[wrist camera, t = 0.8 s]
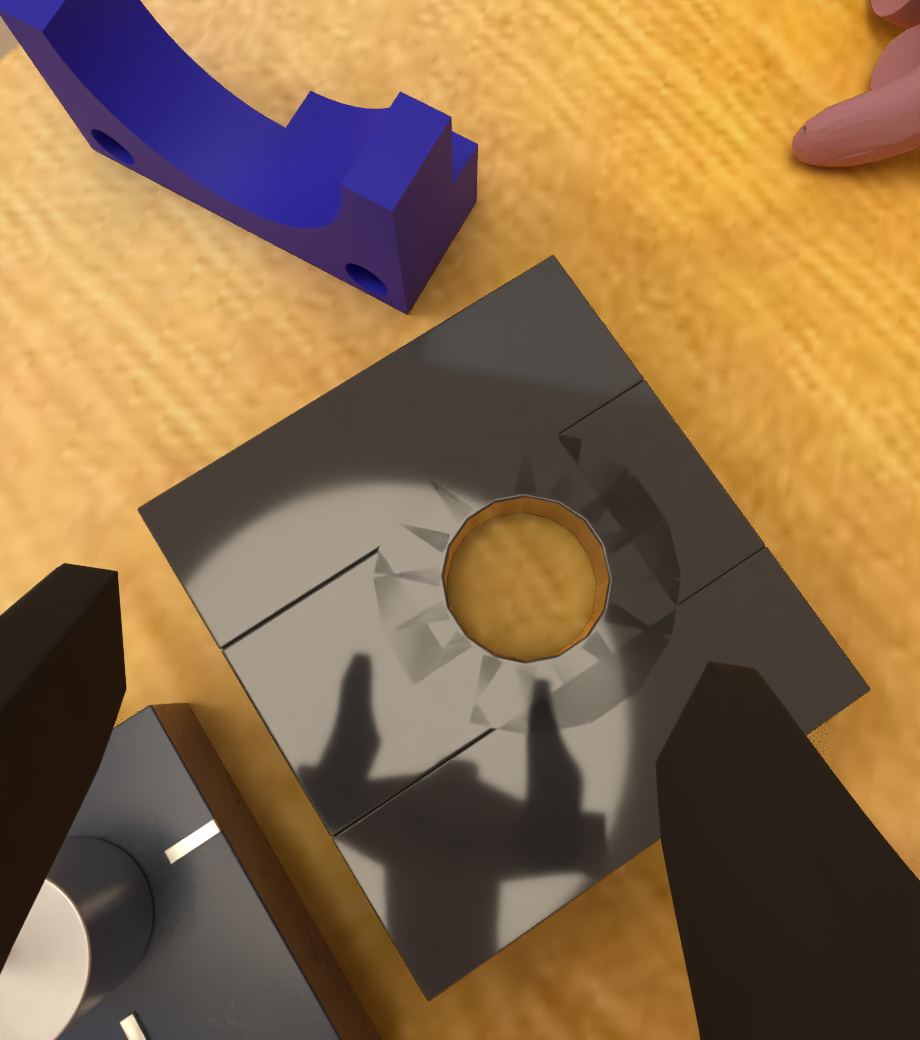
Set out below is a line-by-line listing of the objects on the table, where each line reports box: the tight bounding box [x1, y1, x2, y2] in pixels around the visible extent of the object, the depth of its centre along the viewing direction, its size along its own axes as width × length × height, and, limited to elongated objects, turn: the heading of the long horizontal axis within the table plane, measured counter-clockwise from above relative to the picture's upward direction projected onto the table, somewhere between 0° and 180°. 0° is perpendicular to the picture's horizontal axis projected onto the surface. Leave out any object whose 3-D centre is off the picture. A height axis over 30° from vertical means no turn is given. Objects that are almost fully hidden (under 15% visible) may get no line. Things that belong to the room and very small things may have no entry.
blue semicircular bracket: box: [0, 0, 478, 315], centre depth 25 cm, size 12×4×6 cm, turn 61°
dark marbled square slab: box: [138, 255, 871, 1001], centre depth 24 cm, size 15×14×2 cm
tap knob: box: [0, 837, 153, 1040], centre depth 19 cm, size 4×4×4 cm
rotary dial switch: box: [58, 703, 382, 1040], centre depth 22 cm, size 12×8×3 cm
